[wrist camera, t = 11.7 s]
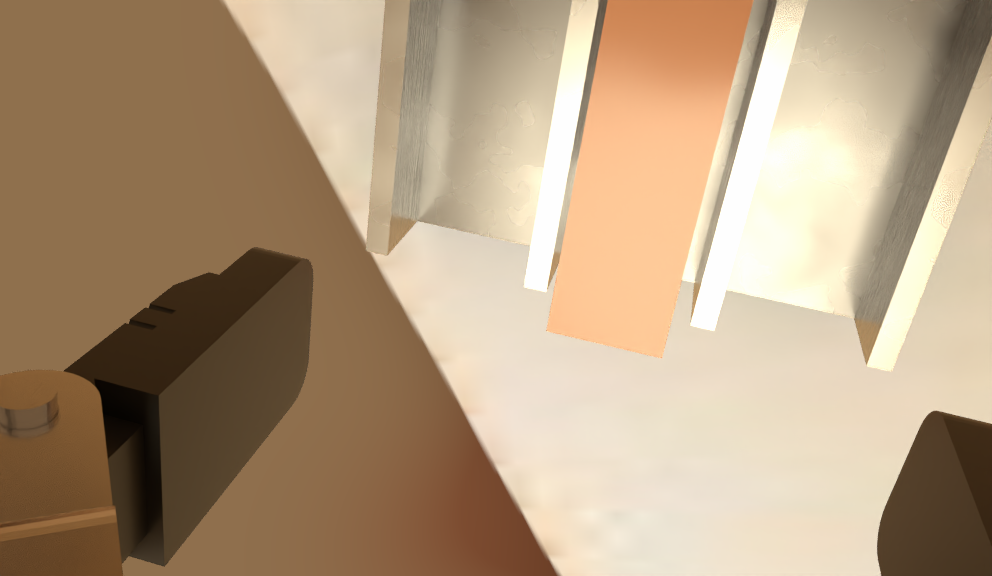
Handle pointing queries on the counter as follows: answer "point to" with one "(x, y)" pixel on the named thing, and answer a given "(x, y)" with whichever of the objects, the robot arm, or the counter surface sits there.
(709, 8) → the upright orange slab
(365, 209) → the counter surface
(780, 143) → the dish rack
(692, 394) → the counter surface
